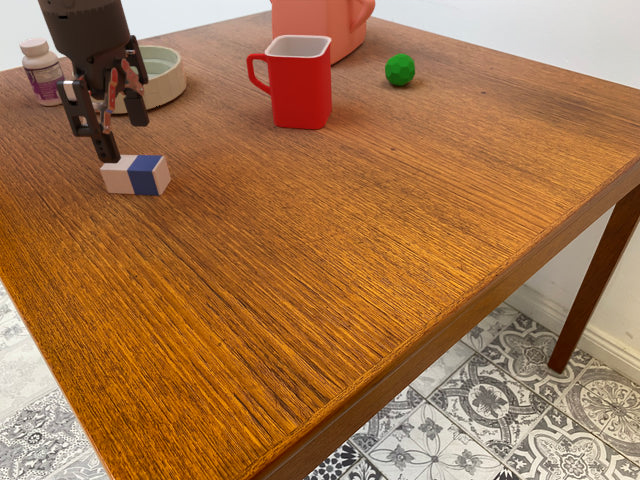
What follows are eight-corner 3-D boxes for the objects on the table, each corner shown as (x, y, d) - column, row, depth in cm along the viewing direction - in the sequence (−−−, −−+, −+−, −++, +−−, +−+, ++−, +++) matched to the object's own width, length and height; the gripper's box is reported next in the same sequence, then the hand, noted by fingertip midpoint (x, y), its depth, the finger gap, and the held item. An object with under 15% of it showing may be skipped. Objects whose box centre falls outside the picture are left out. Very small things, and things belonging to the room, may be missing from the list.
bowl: (63, 115, 82) (51, 85, 79) (110, 72, 95) (101, 45, 92) (166, 118, 80) (158, 87, 77) (200, 73, 93) (194, 45, 90)
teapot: (354, 74, 89) (354, -13, 80) (251, 55, 98) (240, -25, 89) (400, 37, 102) (405, -42, 93) (305, 23, 111) (301, -50, 102)
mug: (335, 105, 80) (333, 36, 74) (324, 131, 74) (320, 58, 67) (262, 101, 83) (253, 33, 76) (245, 125, 77) (234, 54, 70)
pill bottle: (37, 97, 88) (13, 40, 82) (70, 90, 90) (48, 33, 83) (40, 110, 84) (15, 50, 78) (74, 102, 86) (52, 43, 80)
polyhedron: (379, 87, 85) (380, 58, 82) (390, 76, 88) (391, 48, 85) (409, 92, 83) (411, 63, 80) (418, 80, 86) (420, 51, 83)
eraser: (108, 193, 65) (99, 169, 62) (120, 177, 67) (112, 153, 65) (161, 195, 64) (154, 171, 61) (171, 179, 67) (164, 155, 64)
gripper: (78, -21, 57) (122, 114, 67) (1, 21, 46) (68, 174, 57) (143, -23, 56) (177, 115, 66) (79, 20, 45) (132, 176, 56)
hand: (127, 142), depth 61 cm, fingers open, 8 cm apart
